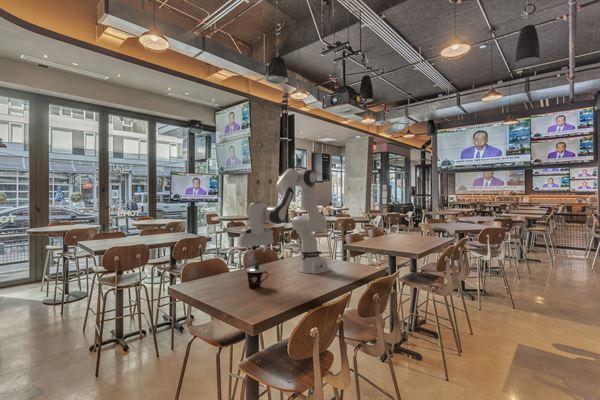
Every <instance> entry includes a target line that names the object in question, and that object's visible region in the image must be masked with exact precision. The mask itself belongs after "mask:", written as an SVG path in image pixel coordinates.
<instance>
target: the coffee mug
mask: <svg viewBox="0 0 600 400" xmlns="http://www.w3.org/2000/svg"><path fill="white" fill-rule="evenodd" d="M246 273H247V275H246V276H247V282H248V288H249V289H251V290H256V289H259V288H260V289H261V283H262V282H264V281H265V280H267V279H268V277H269V272H267V271H265V272H261V273H250V272H247V271H246ZM263 274H267V276H266V277H265V278H263V279H262V276H263Z"/></svg>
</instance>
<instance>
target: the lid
mask: <svg viewBox="0 0 600 400" xmlns="http://www.w3.org/2000/svg"><path fill="white" fill-rule="evenodd" d="M267 271H268V268H267V267H266V266H262V265H261V266H260V261H254V266H250V267H248V268H246V273H247V272H250V273H261V272H267Z"/></svg>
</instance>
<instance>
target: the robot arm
mask: <svg viewBox="0 0 600 400" xmlns="http://www.w3.org/2000/svg"><path fill="white" fill-rule="evenodd" d="M316 181H317V175H316V173H315V170H311V169H299V170H296V169H294V168H292V167H291V168H288V169H286V170H285V171H284V172H283V173H282V174H281V175H280V177H279V179H278V180H277V182H276V184H275V189H276V191H277V192H278V194H279V195H280V196H281V199H280V202H279V204H278V205H276V206H268V205H266V204H264V203H263V201H261V200H257V201H252V202H251V203H249V205H248V212H247V213H248V215H247V216H248V226H246V227H243V228H241V229H240V235H239V236H238V237H239V238H238V244H239V246H240V247H241V248H245V250H246V251H247V255H251V254H252V251H251V250H250V249H249V248H250V247H257V246H258V247H259V246H264V248H262V253H266V252H267V249H268V246H269V245H273V244H274V242H275V241H274V235H273V234H274V230H273V229H272V228H271V227H270V228H265V223H268V224H275V225H281V224H282V223H284V221H285V220H286V217H287V212H288V211H289V207H290V205H291V202H292V200H293V198H294V193H295V192H294V188H295V187H300V188H301V190H300V200H301V201H300V203H301V204H300V206H301V208H302V210H304V211H305V212H307V215H297V216H294V217H293V219H292V221H291V226H292V228H293V229H294V230H295V231H296V232H297V234H298V236H299V239H300V241H301V242H300V243H301V244H300V245H301V250H300V259H301V261H300V267H299V270H298V271H299V272H300V273H303V274H314V275H315V274H321V273H326V272H331V271H332V269H331V268H330V267H328V262H327V260H326V259H324V258H323V257H321V256H320V255H322V254H323V251H320V250H318V240H317V238H315V236H313V235H312V234H311V232H315V233H317V232H323V231H325V230H326V229H327V225H328V222H327V219H326V218H325V217H324V216H323V215H322V214H321V213H320V210H319V207H318V198H317V197H318V196H317V195H318V193H317V186H316Z"/></svg>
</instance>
